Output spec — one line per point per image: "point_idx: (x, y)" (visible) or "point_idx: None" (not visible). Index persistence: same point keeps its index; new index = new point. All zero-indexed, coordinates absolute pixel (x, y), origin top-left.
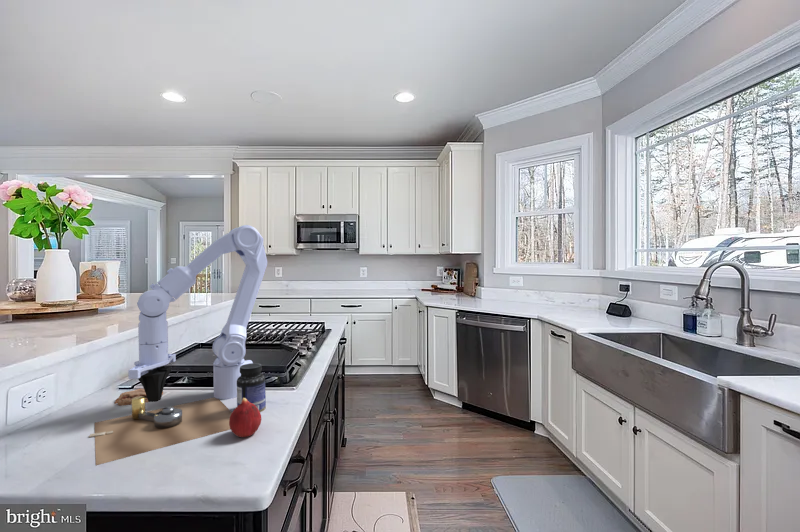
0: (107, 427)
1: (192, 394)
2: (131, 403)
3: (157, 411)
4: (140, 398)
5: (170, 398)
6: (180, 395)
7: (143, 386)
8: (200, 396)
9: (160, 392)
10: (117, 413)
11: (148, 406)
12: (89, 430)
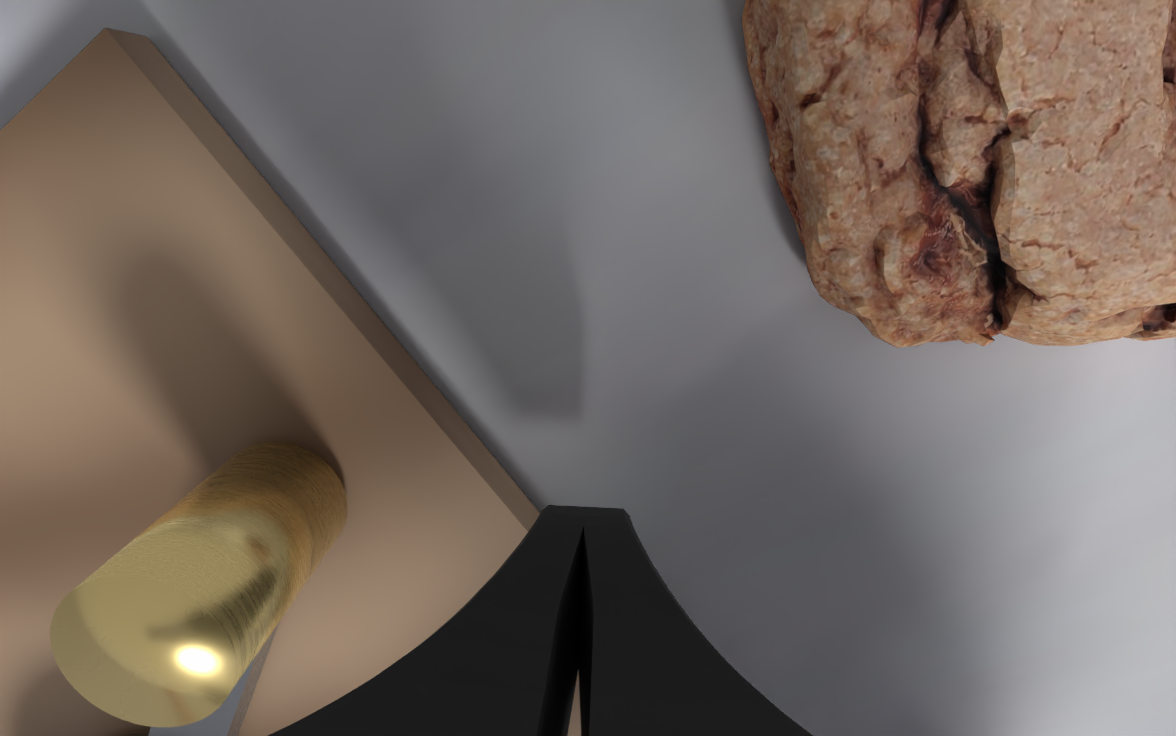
0: (14, 309)
1: (1158, 615)
2: (783, 108)
3: (478, 587)
4: (143, 684)
5: (1076, 427)
6: (1168, 496)
7: (435, 640)
8: (1045, 719)
9: (580, 717)
10: (600, 19)
11: (813, 301)
12: (68, 36)
